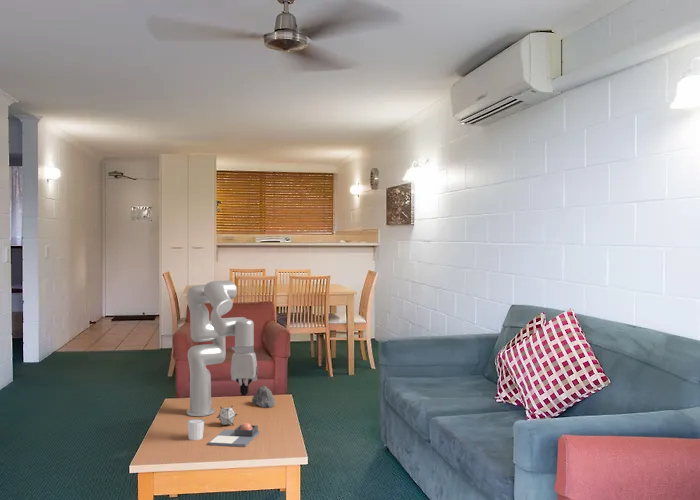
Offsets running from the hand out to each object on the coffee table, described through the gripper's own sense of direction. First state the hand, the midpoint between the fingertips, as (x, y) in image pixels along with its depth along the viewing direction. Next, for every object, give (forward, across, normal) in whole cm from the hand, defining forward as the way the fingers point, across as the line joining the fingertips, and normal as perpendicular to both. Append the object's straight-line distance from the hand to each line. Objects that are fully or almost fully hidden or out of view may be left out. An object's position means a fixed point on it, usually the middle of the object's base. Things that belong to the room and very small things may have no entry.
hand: (244, 394), depth 264 cm
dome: (+15, +1, 0) cm, 15 cm away
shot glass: (+17, -19, -5) cm, 26 cm away
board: (+17, -3, -4) cm, 18 cm away
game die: (+17, -13, +15) cm, 26 cm away
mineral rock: (+17, -7, +51) cm, 54 cm away
